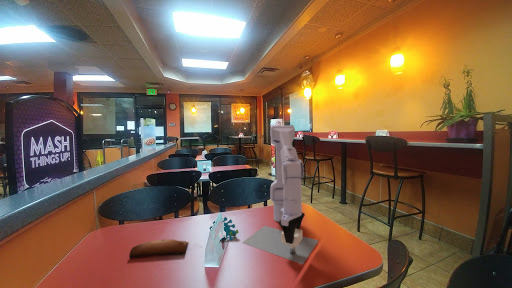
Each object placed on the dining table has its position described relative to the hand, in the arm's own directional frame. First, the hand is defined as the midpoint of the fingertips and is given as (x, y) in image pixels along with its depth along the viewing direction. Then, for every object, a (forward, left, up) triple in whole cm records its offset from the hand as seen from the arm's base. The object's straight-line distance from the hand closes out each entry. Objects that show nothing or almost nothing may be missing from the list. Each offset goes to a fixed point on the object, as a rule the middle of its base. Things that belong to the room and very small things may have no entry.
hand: (292, 238), depth 67 cm
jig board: (-4, -7, -6) cm, 10 cm away
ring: (0, 0, -1) cm, 1 cm away
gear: (+4, -26, -6) cm, 27 cm away
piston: (0, 0, -6) cm, 6 cm away
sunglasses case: (+21, -40, -6) cm, 46 cm away
